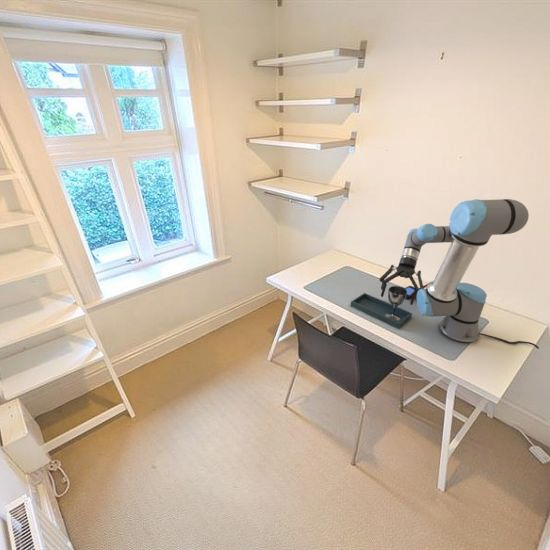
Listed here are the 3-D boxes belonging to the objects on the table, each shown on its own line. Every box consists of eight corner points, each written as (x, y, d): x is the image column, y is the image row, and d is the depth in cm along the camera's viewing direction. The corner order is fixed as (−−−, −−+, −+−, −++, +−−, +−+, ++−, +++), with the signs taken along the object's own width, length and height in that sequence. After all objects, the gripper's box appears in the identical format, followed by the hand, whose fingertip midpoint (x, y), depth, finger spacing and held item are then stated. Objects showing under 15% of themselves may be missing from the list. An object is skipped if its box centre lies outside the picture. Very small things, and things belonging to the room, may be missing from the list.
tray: (411, 318, 151) (412, 313, 150) (398, 328, 144) (399, 323, 143) (363, 297, 169) (364, 292, 167) (350, 306, 162) (351, 301, 160)
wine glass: (402, 322, 148) (408, 295, 141) (385, 320, 149) (389, 294, 142) (400, 313, 154) (405, 286, 147) (383, 311, 156) (387, 285, 149)
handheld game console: (409, 287, 178) (412, 275, 174) (427, 295, 170) (430, 283, 166) (395, 293, 171) (397, 282, 168) (413, 302, 163) (415, 290, 160)
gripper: (436, 268, 149) (424, 309, 144) (383, 257, 161) (371, 295, 156) (437, 262, 142) (424, 305, 138) (382, 251, 154) (369, 290, 150)
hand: (396, 300), depth 147 cm, fingers open, 13 cm apart
